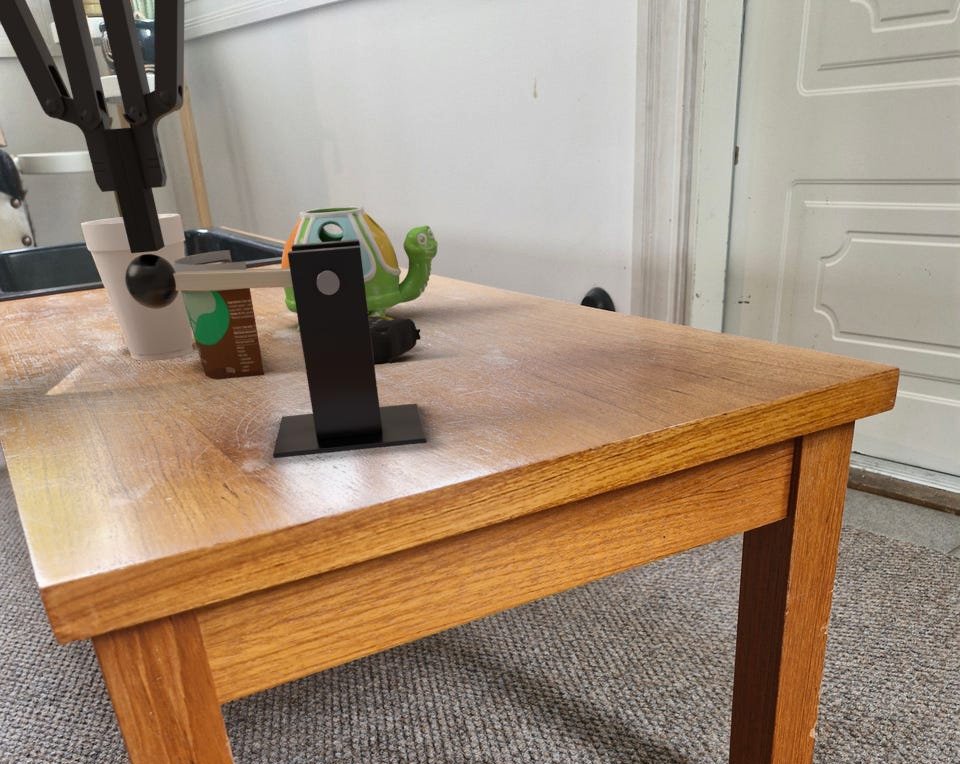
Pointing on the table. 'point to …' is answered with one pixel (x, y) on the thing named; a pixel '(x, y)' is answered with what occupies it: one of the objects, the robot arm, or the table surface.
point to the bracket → (339, 360)
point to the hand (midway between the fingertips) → (148, 249)
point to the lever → (191, 280)
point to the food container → (222, 321)
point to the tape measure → (391, 337)
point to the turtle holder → (369, 255)
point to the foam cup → (140, 326)
